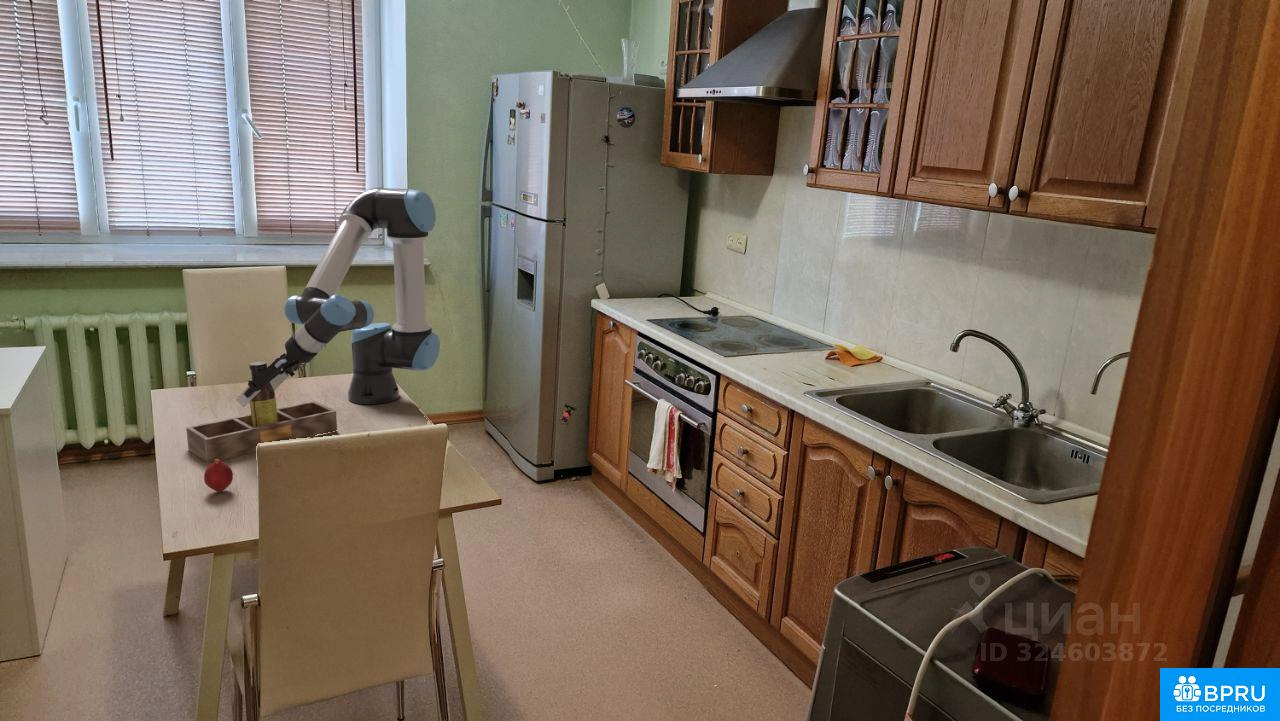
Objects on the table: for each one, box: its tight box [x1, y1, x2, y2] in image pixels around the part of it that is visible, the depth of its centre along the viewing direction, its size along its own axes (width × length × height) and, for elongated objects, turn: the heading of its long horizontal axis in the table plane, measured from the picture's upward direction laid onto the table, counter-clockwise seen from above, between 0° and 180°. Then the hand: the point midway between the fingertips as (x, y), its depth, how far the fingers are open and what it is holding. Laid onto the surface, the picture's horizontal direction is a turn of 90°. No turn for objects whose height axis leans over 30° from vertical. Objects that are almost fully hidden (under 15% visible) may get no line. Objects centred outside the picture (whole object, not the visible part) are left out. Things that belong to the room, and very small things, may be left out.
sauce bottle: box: [249, 361, 278, 428], centre depth 215 cm, size 6×6×20 cm
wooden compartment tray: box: [185, 400, 338, 464], centre depth 217 cm, size 34×12×6 cm, turn 139°
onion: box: [203, 459, 234, 493], centre depth 185 cm, size 6×6×8 cm
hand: (255, 395), depth 215 cm, fingers open, 13 cm apart
